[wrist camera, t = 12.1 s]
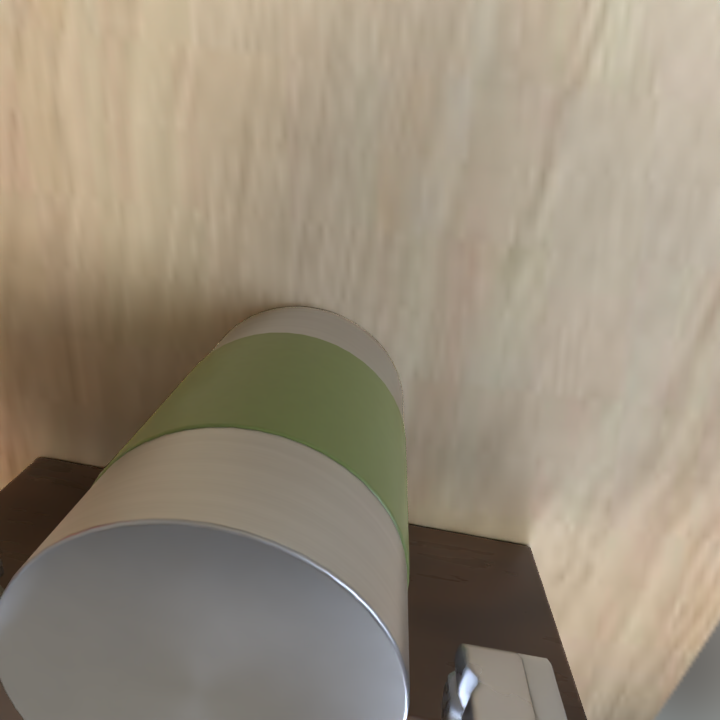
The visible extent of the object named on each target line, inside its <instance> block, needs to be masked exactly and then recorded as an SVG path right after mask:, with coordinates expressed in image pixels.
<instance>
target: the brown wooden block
mask: <svg viewBox="0 0 720 720" xmlns="http://www.w3.org/2000/svg"><path fill="white" fill-rule="evenodd" d="M103 470H104V469H102V468H96V467H91V466H85V465H80V464H74V463H69V462H63V461H58V460H53V459H47V458H42V457H40V458H37V459H36V460H35V461H34V462H33V463H32V464H30V465H29V466H28V467H27V468H26V469H25V470H24V471H23V472H21V473H20V474H19V475H18V476H17V477H16V478H15V479H13V480H12V481H11V482H10V483H9V484H8V485H7V486H6V487H4V488H3V489H2V490H1V491H0V559H2V564H3V569H4V574H3V576H2V577H1V578H0V585H1V586H2V587H3V589H4V590H5V589H6V587H7V585H8V584H9V582H10V580H11V579H12V577H13V576H14V575H15V573H16V572H17V571H18V570H19V569H20V568H21V567H22V565H23V564H24V563H25V562H26V561H27V560H28V559H29V558H30V556H31V555H32V554H33V553H34V552H35V551H36V550H37V548H38V547H39V546H40V545H41V544H42V543H43V542H44V541H45V539H46V538H47V537H48V536H49V535H50V534H51V533H52V531H53V530H54V529H55V528H56V527H57V526H58V525H59V524H60V522H61V521H62V520H63V519H64V518H65V517H66V516H67V514H68V513H69V512H70V511H71V510H72V509H73V508H74V507H75V505H76V504H77V503H78V502H79V501H80V500H81V499H82V497H83V496H84V495H85V494H86V493H87V492H88V491H89V490H90V488H91V487H92V485H93V483H94V482H95V480H96V479H97V477H98V476H99V474H100V473H101V472H102V471H103ZM408 531H409V586H408V632H409V674H410V704H409V710H408V715H407V720H442V719H441V718H442V699H443V692H444V686H445V683H446V680H447V677H448V674H450V673H451V672H453V671H455V660H454V656H455V654H456V651H457V648H458V646H459V645H460V644H461V643H465V644H471V645H477V646H482V647H488V648H494V649H500V650H506V651H512V652H516V653H520V654H525V655H530V656H536V657H541V658H547V659H548V661H549V662H550V663H551V665H552V669H553V672H554V675H555V679H556V682H557V686H558V689H559V693H560V696H561V699H562V703H563V706H564V710H565V713H566V717H567V720H587V718H586V715H585V712H584V709H583V706H582V703H581V700H580V697H579V694H578V691H577V688H576V685H575V682H574V679H573V676H572V673H571V670H570V667H569V664H568V661H567V658H566V654H565V651H564V648H563V645H562V642H561V639H560V636H559V633H558V630H557V627H556V624H555V621H554V618H553V615H552V612H551V609H550V606H549V603H548V600H547V597H546V594H545V590H544V587H543V584H542V581H541V578H540V575H539V572H538V569H537V566H536V563H535V560H534V557H533V554H532V551H531V548H530V547H529V546H524V545H518V544H513V543H507V542H502V541H496V540H491V539H485V538H480V537H474V536H469V535H463V534H458V533H452V532H447V531H441V530H436V529H430V528H425V527H420V526H414V525H409V524H408ZM0 720H24V719H23V718H22V717H21V715H20V714H19V713H18V711H17V710H16V709H15V707H14V705H13V704H12V702H11V700H10V699H9V697H8V695H7V693H6V692H5V690H4V687H3V685H2V682H1V680H0Z"/></svg>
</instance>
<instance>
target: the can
mask: <svg viewBox="0 0 720 720" xmlns="http://www.w3.org/2000/svg"><path fill="white" fill-rule="evenodd" d="M408 586H409V531H408V498H407V464H406V436H405V429H404V419H403V394H402V387H401V383H400V380H399V376H398V373H397V371H396V369H395V366H394V364H393V362H392V361H391V359H390V357H389V356H388V354H387V353H386V351H385V350H384V349H383V347H382V346H381V345H380V344H379V343H378V341H377V340H376V339H374V338H373V337H372V336H371V335H370V334H369V333H368V332H367V331H365V330H364V329H363V328H361V327H360V326H358V325H357V324H356V323H354V322H352V321H350V320H348V319H346V318H344V317H342V316H340V315H337V314H335V313H332V312H329V311H325V310H321V309H317V308H309V307H283V308H275V309H271V310H268V311H264V312H261V313H259V314H256V315H254V316H252V317H249V318H248V319H246V320H244V321H243V322H241V323H239V324H238V325H237V326H235V327H234V328H233V329H232V330H231V331H229V332H228V333H227V334H226V336H225V337H224V338H223V339H222V340H221V341H220V342H219V343H218V344H217V346H216V347H215V348H214V349H213V350H212V351H211V352H210V353H209V355H208V356H206V357H205V358H204V359H203V360H201V361H200V362H199V363H198V364H197V366H196V367H195V368H194V369H193V370H192V371H191V372H190V373H189V374H188V376H187V377H186V378H185V379H184V380H183V381H182V382H181V383H180V384H179V386H178V387H177V388H176V389H175V390H174V391H173V392H172V393H171V395H170V396H169V397H168V398H167V399H166V400H165V401H164V402H163V404H162V405H161V406H160V407H159V408H158V409H157V410H156V411H155V412H154V414H153V415H152V416H151V417H150V418H149V419H148V420H147V421H146V423H145V424H144V425H143V426H142V427H141V428H140V429H139V430H138V432H137V433H136V434H135V435H134V436H133V437H132V438H131V439H130V440H129V442H128V443H127V444H126V445H125V446H124V447H123V448H122V449H121V451H120V452H119V453H118V454H117V455H116V456H115V457H114V458H113V460H112V461H111V462H110V463H109V464H108V465H107V466H106V467H105V468H104V470H103V471H102V472H101V473H100V474H99V476H98V477H97V479H96V480H95V482H94V483H93V485H92V487H91V488H90V490H89V491H88V492H87V493H86V494H85V495H84V496H83V497H82V499H81V500H80V501H79V502H78V503H77V504H76V505H75V507H74V508H73V509H72V510H71V511H70V512H69V513H68V514H67V516H66V517H65V518H64V519H63V520H62V521H61V522H60V524H59V525H58V526H57V527H56V528H55V529H54V530H53V531H52V533H51V534H50V535H49V536H48V537H47V538H46V539H45V541H44V542H43V543H42V544H41V545H40V546H39V547H38V548H37V550H36V551H35V552H34V553H33V554H32V555H31V556H30V558H29V559H28V560H27V561H26V562H25V563H24V564H23V565H22V567H21V568H20V569H19V570H18V571H17V572H16V573H15V575H14V576H13V577H12V579H11V580H10V582H9V584H8V585H7V587H6V589H5V590H4V592H3V594H2V596H1V599H0V680H1V682H2V685H3V687H4V690H5V692H6V693H7V695H8V697H9V699H10V700H11V702H12V704H13V705H14V707H15V709H16V710H17V711H18V713H19V714H20V715H21V717H22V718H23V719H24V720H407V715H408V710H409V704H410V674H409V632H408Z"/></svg>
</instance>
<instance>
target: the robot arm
mask: <svg viewBox="0 0 720 720" xmlns="http://www.w3.org/2000/svg"><path fill="white" fill-rule="evenodd" d="M3 574H4V569H3V564H2V559H0V578H1V577H2V576H3ZM3 592H4V589H3V587H2V586H1V585H0V599H1V596H2V594H3ZM454 660H455V671H453V672H451V673H450V674H448V677H447V680H446V683H445V686H444V692H443V699H442V718H441V719H442V720H567V717H566V713H565V710H564V706H563V703H562V699H561V696H560V693H559V689H558V686H557V682H556V679H555V675H554V672H553V669H552V665H551V663H550V662H549V661H548V659H547V658H541V657H536V656H530V655H525V654H520V653H516V652H512V651H506V650H500V649H494V648H488V647H482V646H477V645H471V644H465V643H461V644H460V645H459V646H458V648H457V651H456V654H455V656H454Z"/></svg>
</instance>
